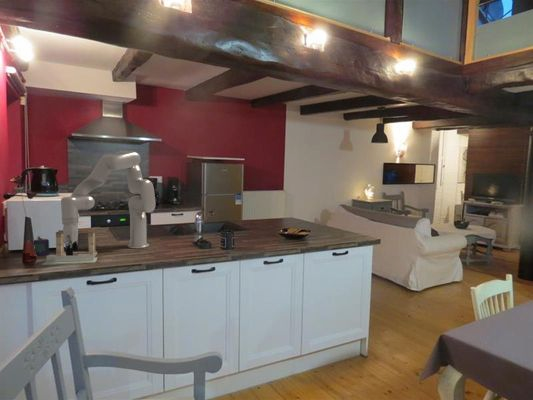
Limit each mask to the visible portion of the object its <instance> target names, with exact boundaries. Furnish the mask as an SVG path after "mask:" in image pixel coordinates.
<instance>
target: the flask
mask: <svg viewBox="0 0 533 400" xmlns="http://www.w3.org/2000/svg"><path fill="white" fill-rule="evenodd" d="M33 240H34V245H35V252H36V255H37V256H38V257H46V256H47V255H50V242H49V241H50V240H49V239H47V238H42V237H41V236H40V235H39V236H37V237H36V239H33Z"/></svg>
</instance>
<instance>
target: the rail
mask: <svg viewBox="0 0 533 400" xmlns="http://www.w3.org/2000/svg"><path fill="white" fill-rule="evenodd" d="M45 258H46V260H45V261H46V262H66V261H93V260H94V258H95V257H94V254H73V255H72V256H66V254H62V255H56V254H49V255H47V256H45Z"/></svg>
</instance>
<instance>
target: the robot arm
mask: <svg viewBox="0 0 533 400" xmlns="http://www.w3.org/2000/svg"><path fill="white" fill-rule="evenodd" d="M140 163H141V156H140V153H138V152H136V151H126V150H122V151H120V150H119V151H117V152H115V153H114V154H104V155H102V156H101V157H100V159H99V160H98V162H96V165H95V167H94V168H93V170H92V171H91V173H90V174H89V176H88V177H86V178H85V179H84V180H82V182H80V183H79V184H78V185H77V186H76V187H75V188H74V190H73V192H72V193H71V195H70V196H64V197H61V199H60V208H61V224H62V225H63V227H62V228H63V229H62V230H63V243H64V250H65V252H66V256H72V255H73V252H78V251H79V250H78V236H79V235H78V224H79V223H80V222H79V210H82V211H87V210H91V209H92V208H94V206H95V203H96V202H95V199H94V198H93V197H92V196H91V195H88V194H89V193H90V192H92V191H93V190H95V189H97V188H99V187H101V186H103V185H104V184H106V182H107V180H108V179H109V176H110V175H111V173H112V171H125V173H126V179H127V185H128V186H127V187H128V190H129V192H130V193H131V194H135V195H133V196H131V197H130V198H129V200H128V203H127V204H128V211H129V219H130V220H129V221H130V222H129V223H130V224H129V229H130V230H129V233H130V235H129V236H130V237H129V238H130V239H129V241H130V242H129V243H128V244H127V247H128V248H129V249H144V248H147V247H150V244H149V242H147V215H146V213H149V214H150V213H152V212H154V210H155V208H156V204H157V203H156V196H155V188H154V184H153V182H152V181H151V180H149V179H147V178H143V175H142V170H141V167H140Z"/></svg>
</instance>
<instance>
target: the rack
mask: <svg viewBox="0 0 533 400" xmlns="http://www.w3.org/2000/svg"><path fill="white" fill-rule="evenodd" d="M87 232H88V234H87V236H88V237H87V238H88V251H73V254H94V258H96V256H97V255H98V251H96V229H90V230H89V231H87ZM55 248H56V249H55V251H56V253H55V255H62V254H66V251H65V244H64V243H63V229H61V230H60V229H59V230H58V231H56V232H55Z"/></svg>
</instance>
